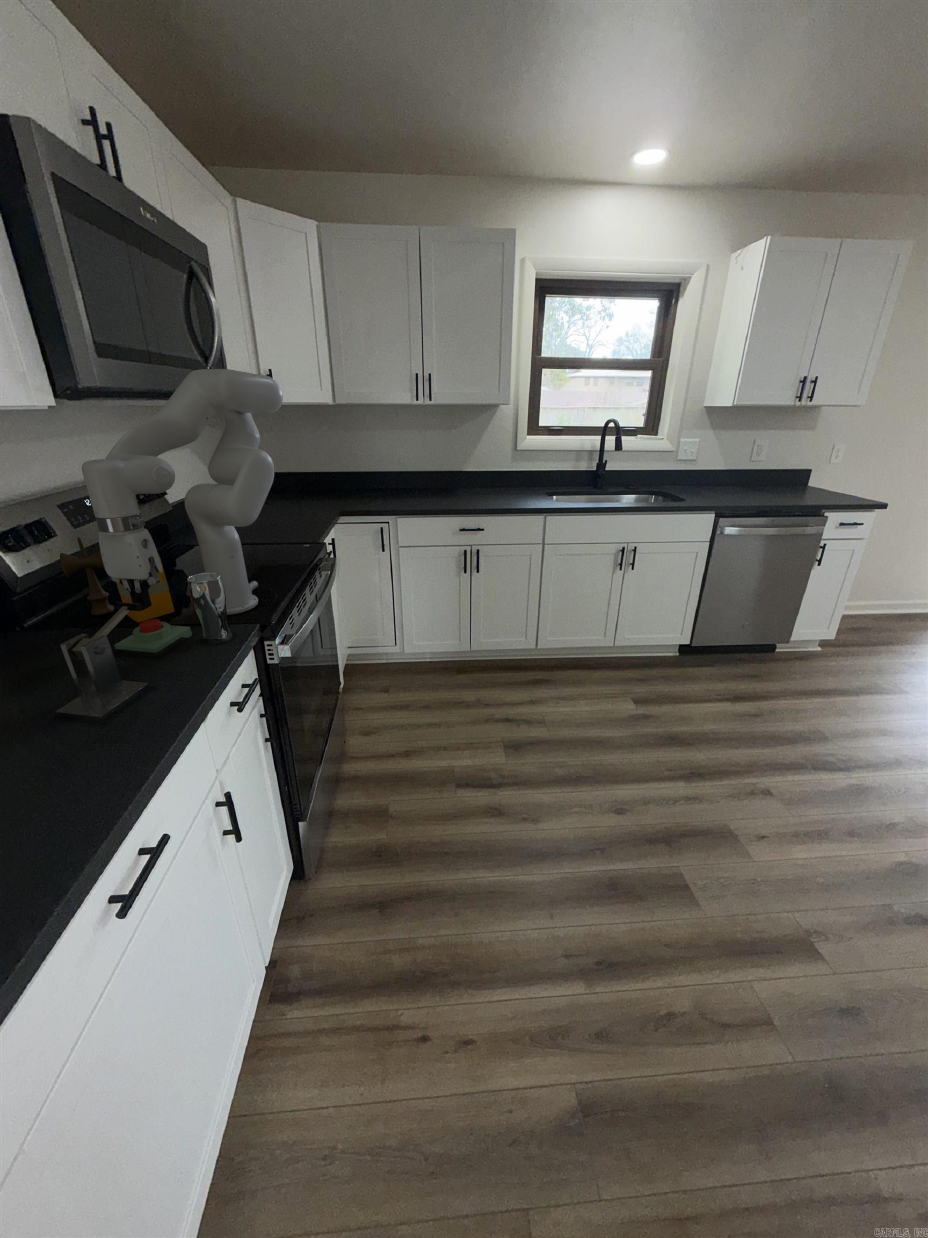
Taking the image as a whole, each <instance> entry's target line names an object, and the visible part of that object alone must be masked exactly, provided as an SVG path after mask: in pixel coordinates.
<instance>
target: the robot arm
mask: <svg viewBox="0 0 928 1238" xmlns="http://www.w3.org/2000/svg"><path fill="white" fill-rule="evenodd" d="M283 400H284V395H283V390H282V388H281V387H280V384H279V383H278V382H277V381H276V380H275V379H274V378H273V377H271V376H268V375H264V374H258V373H251V372H245V371H241V370H236V369H229V368H207V369H206V368H203V369H195V370H192V371H191V372H189V373H188V374H187V375H186V376H185V378H183V380H182V381H181V383H180V384H179V385H178V386H177V388H176V389H175V391H174V392H173V393H172V394H171V396H170V397H169V398H168V400H167V401H166V402H165V404H164V405H163V406H162V407H161V408H160V410H159V411H158V412H157V413H155V414H152V415H151V416H149V417H147V419H145V420H144V421H142V422H140V423H139V424H138V425H136V426H134V427H133V428H131V429H130V430H128V431H127V432H125V433H124V434H123V435H122V436H121V437H120V438H119V439H118V441H117V442H116V443H115V444H114V446H113V447H112V448H111V449H110V450H109V452H108V453H107V455H106V456H105V458H102V459H101V458H99V459H90V460H86V461H84V462H83V463H82V465H81V472H82V476H83V480H84V483H85V487H86V490H87V493H88V497H89V500H90V504H91V507H92V510H93V511H92V512H93V514H94V517H95V521H96V524H97V525H96V526H97V528H98V532H97V533H98V535H97V536H98V545H99V551H101V556H102V560H103V564H104V567H105V569H104V571H105V572H106V575H108V576H109V577H110V580H111V581H112V582H115V583H116V582H118V583H121V584H122V585H123V586H124V587H125V590H126V591H127V592H128V593H130V597H131V600H132V603H137V604H142V606H143V609H142V610H144V609H147V608H149V607H151V606H152V603H151V600H150V596H149V592H148V589H150V586H151V585H153V584H156V583H159V582H160V579H159V577H158V575H157V574H161V573H162V566H163V564H162V565H161V562H162V561H161V562H160V558H161V557H160V555H159V553H158V550H157V547H156V544H155V542H154V540H153V538H152V535H151V533H150V532H149V530H148V529H147V528H144V526H145V525H146V521H145V519H143V518H142V516H141V512H140V508H139V504H138V500H137V495H152V494H153V495H155V494H161V493H162V494H163V493H165V492H166V491H169V490H170V489H171V488H172V487H173V486H174V484H175V481H176V472H175V470H174V468H173V466H172V464H170V463H169V461H166V460H165V459H163V458H161V457H159V456H160V455H162V454H164V453H167V452H169V451H171V450H174V449H179V448H181V447H184V446H187V445H189V444H191V443H193V442H195V441H197V440H198V439H199V438H200V437H201V434H202V433H203V432H204V431H205V429H206V428H207V426H208V425H209V423H210V422H211V420H212V419H213V418H214V416H215V415H216V413H217V412H218V411H221V412H222V415H223V419H224V429H223V431H222V434H221V436H220V437H219V441H218V442H217V445H216V446H215V449H214V450H213V453H212V455H211V457H210V459H209V462H208V466H207V467H208V468H207V471H208V475H209V477H210V478H211V480H212V481H213V482H215V483H206V482H205V483H198V484H195V485H193V486H191V487H190V488H188V490H187V492H186V493H185V495H184V508H185V512H186V514H187V517H188V519H189V522H190V523H191V525H192V527H193V530H194V533H195V536H196V540H197V544H198V548H199V553H200V557H201V562H202V565H203V569H204V573H205V572H216V573H219V574H220V575H221V579H222V582H223V586H224V589H225V594H226V602H227V616H231V615H237V614H241V613H245V612H248V611H250V610H252V609H254V608H255V607H256V606H258V604H259V598H258V596H256V595H254V594H253V590H255V589H256V588H258V587H259V583H258V581H256V580H253V581H251V582H249V579H248V574H247V569H246V564H245V558H244V553H243V548H242V547H243V546H242V543H241V538H240V536H239V535H240V534H239V533H238V531H237V529H236V527H237V528H243V527H244V528H246V527H248V526H251V525H253V523H255V521H256V520H257V519H258V517H259V515H260V514H261V511H262V509H263V507H264V504H265V502H266V500H267V497H268V495H269V492H270V490H271V488H272V485H273V483H274V479H275V464H274V461H273V459H272V458H271V456H270V455H269V454H268V453H267V451H264V450H263V449H260V448H259V446H260V441H261V435H260V431H259V429H258V427H257V424H256V422H255V420H254V418H253V416H252V414H260V415H261V414H264V415H265V414H266V415H271V414H274V413H276V412H278V411H279V410H280V408H281V407H282V405H283ZM159 557H160V558H159ZM141 581H142V582H141ZM142 610H141V611H142Z"/></svg>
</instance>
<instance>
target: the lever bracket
mask: <svg viewBox="0 0 928 1238" xmlns="http://www.w3.org/2000/svg"><path fill="white" fill-rule="evenodd" d="M83 638H86V639H90V638H89V635H88V633H81V634H79V635H76V636H75V637H72V638H70V639H69V640H66V641H63V642H62V643H60V644H59V647H60V648H61V651H62V654H63V657H64V659H65V662H66V665H67V667H68V670H69V672H70V675H71V678H72V681H73V683H74V685H75V688H76V691H77V693H78V697H76V698H74V699H73V700H71V701H70V702H68V703H66V704H65V705H63V706H62V707H60V708H58V709H57V710H55V713H62V714H70V715H78V716H85V717H86V716H87V717H95V718H101V717H103V716H105V715H106V714H107V713H109V712H110V711H112V710H113V709H115V708H116V707H117V706H118V705H119V706H120V704H122V703H123V702H124V701H126V700H127V699H129V698H130V697H132V696H134V694H136V693H137V692H139V691H140V690H142V689H143V688H144V687H146V686H148V685H149V682H141V681H133V680H132V681H131V680H123V679H122V677H121V674H120V671H119V668H118V664H117V662H116V659H115V656H114V653H113V650H112V647H111V644H110V641H109V638H108V635H106V636H105V635H102V636H100V637H98V638H96V639H94V640H92V641H90V642H88V643H86V644H84V645H82V646H81V650H82V653H83V655H84V658H85V660H83V659H79V657H78V656H77V655H76V654H75V653H74V652H73V651H72V649H73V648H74V647H75V646H76V645H77V644H78V643H79V642H80V641H81V640H82V639H83Z"/></svg>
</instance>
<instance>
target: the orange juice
mask: <svg viewBox="0 0 928 1238" xmlns="http://www.w3.org/2000/svg"><path fill="white" fill-rule="evenodd" d="M159 558H160V562H161V565H162V573H161V574H157V575H158V577H159V579H160V582H159V583H156V584H153V585H151V586H150V589H148V592H149V596H150V600H151V603H152V606H151V607H149V608H147V609H144V610H142V611H129V612H128V613H127V614H126V615H125V616H128V617H129V618H130V619H132V620H133V621H135V622H136V623H141V622H143V621H146V620H150V619H156V618H158V617H161V616H165V615H169V614H172V613H175V607H174V604H173V600H172V596H171V592H170V588H169V584H168V580H167V578H166V573H165V570H164V567H163V563H162V559H161V557H160V556H159ZM141 582H142V581H141ZM115 583H116V587H117V589H118V593H119V595H120V599H121V602H125V603H132V600H131V597H130V593H128V592H127V591H126V590H125V587H124V586H123V585H122V584H121V583H118V582H115Z"/></svg>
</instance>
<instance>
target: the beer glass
mask: <svg viewBox="0 0 928 1238" xmlns="http://www.w3.org/2000/svg"><path fill="white" fill-rule="evenodd" d="M186 579H187V580H186V581H187V587H188V593H189V597H190V601H191V605H192V607H193V610H194V611H195V614H196V616H197V618H198V620H199V623H200V625H201V630H202V640H208V641H209V640H210V641H220V642H228V641H230V640H232V638H233V633H232V630H231V628H230V626H229V622H228V615H227V602H226V594H225V589H224V586H223V582H222V579H221V575H220V574H219V573H216V572H205V571H204V572H199V573H195V574H193V575H190V576H189V577H187V578H186Z"/></svg>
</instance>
